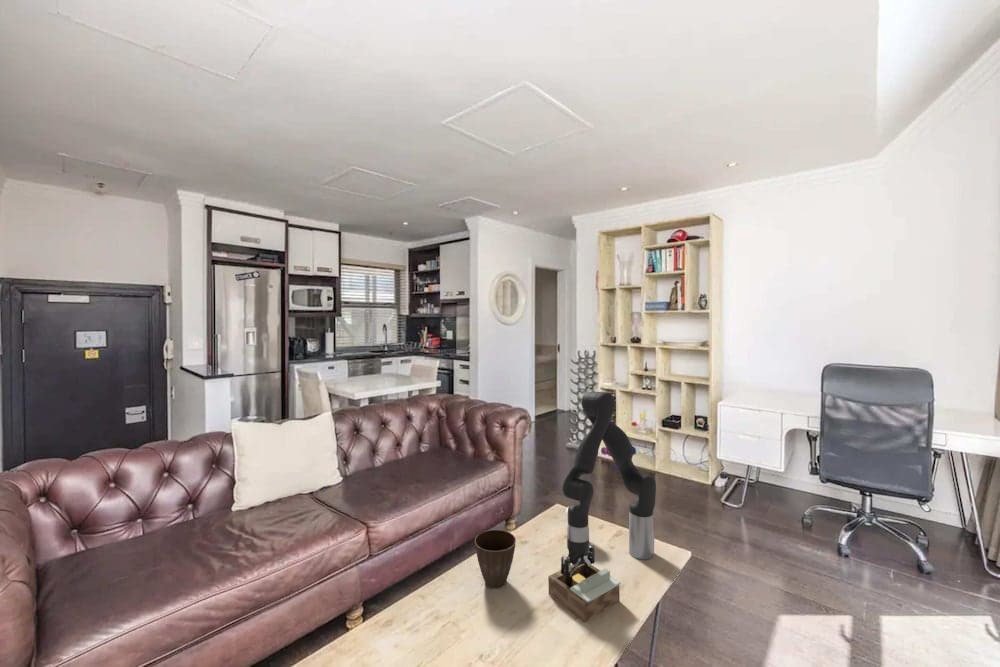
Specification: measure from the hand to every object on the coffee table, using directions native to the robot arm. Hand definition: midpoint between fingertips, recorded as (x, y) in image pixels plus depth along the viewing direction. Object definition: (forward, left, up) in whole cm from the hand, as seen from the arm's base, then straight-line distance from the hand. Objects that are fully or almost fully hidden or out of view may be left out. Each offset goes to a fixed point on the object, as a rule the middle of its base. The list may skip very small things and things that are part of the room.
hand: (578, 580), depth 151 cm
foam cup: (-25, -26, -5) cm, 36 cm away
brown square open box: (0, +2, -5) cm, 5 cm away
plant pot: (+20, -22, -5) cm, 30 cm away
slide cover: (0, +8, +2) cm, 8 cm away
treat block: (0, 0, -4) cm, 4 cm away
